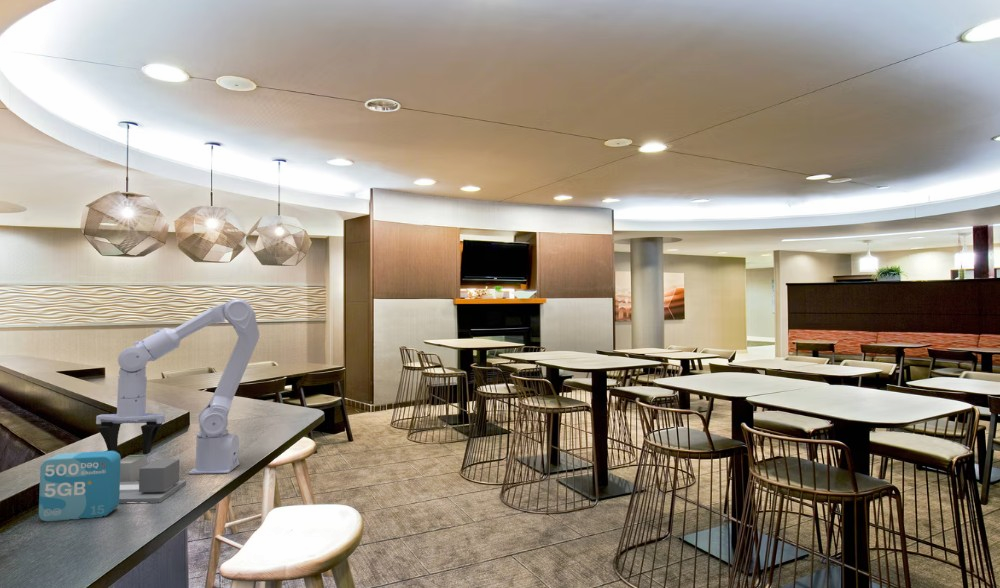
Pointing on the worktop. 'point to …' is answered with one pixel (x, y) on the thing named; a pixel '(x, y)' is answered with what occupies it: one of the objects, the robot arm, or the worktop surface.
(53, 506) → the data package
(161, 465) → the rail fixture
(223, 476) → the worktop surface
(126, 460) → the module
